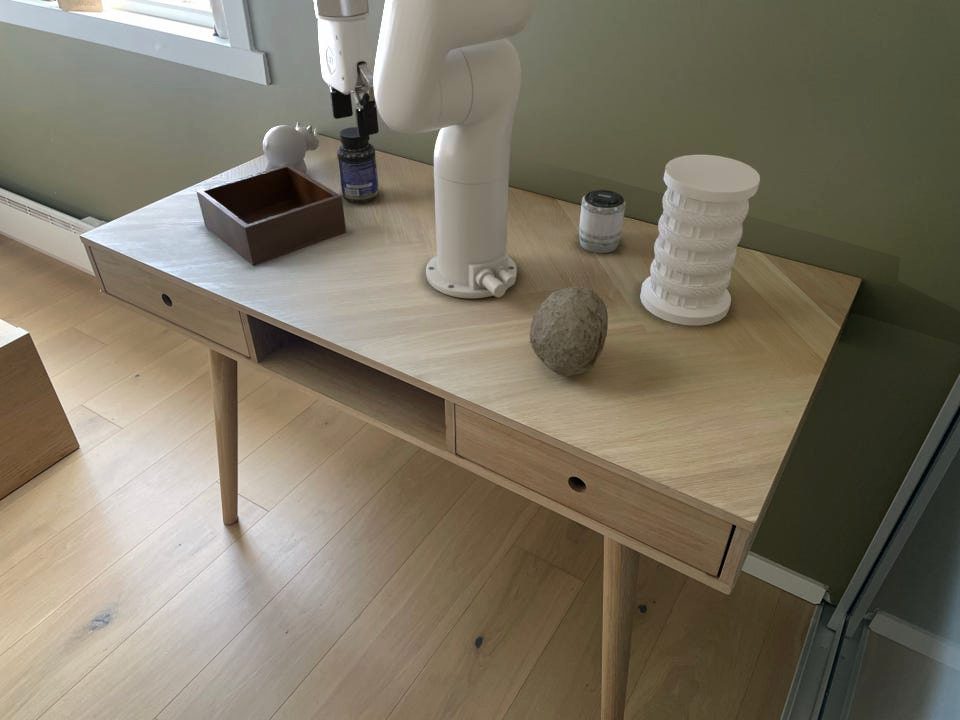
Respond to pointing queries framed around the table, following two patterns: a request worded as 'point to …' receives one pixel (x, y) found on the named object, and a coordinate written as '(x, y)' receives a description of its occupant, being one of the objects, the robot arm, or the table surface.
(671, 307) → the decorative container
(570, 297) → the decorative stone
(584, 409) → the table surface
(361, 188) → the pill bottle
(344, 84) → the robot arm
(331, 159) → the table surface
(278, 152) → the toy rhinoceros
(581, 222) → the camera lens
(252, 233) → the box
